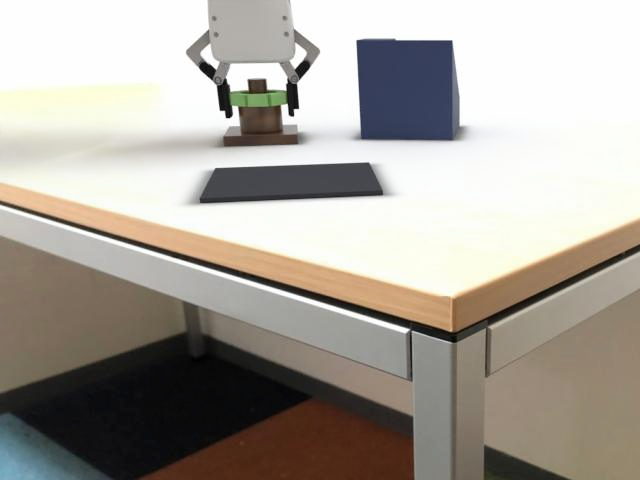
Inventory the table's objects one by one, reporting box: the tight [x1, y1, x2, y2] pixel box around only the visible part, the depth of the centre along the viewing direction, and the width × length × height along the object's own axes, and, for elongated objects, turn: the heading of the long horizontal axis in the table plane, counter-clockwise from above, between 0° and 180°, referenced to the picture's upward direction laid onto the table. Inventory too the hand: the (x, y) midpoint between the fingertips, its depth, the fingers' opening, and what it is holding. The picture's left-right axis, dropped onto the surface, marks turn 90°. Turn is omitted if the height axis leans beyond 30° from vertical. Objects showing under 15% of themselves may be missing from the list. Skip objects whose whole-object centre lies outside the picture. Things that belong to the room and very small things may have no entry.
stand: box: [222, 77, 299, 147], centre depth 96 cm, size 9×9×8 cm
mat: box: [199, 161, 384, 203], centre depth 72 cm, size 16×14×1 cm
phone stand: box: [355, 38, 461, 141], centre depth 100 cm, size 12×12×12 cm
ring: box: [229, 88, 288, 107], centre depth 95 cm, size 7×7×1 cm
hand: (260, 115), depth 96 cm, fingers closed on ring, 7 cm apart
